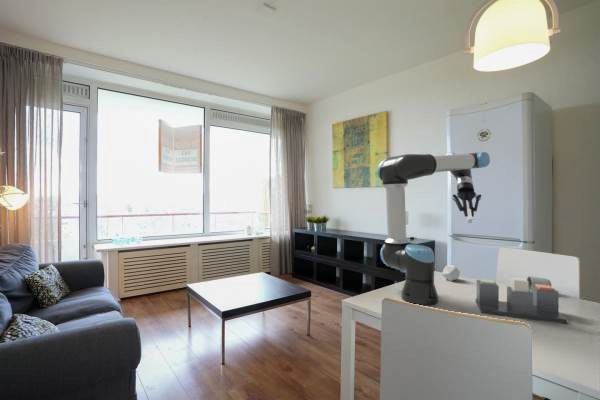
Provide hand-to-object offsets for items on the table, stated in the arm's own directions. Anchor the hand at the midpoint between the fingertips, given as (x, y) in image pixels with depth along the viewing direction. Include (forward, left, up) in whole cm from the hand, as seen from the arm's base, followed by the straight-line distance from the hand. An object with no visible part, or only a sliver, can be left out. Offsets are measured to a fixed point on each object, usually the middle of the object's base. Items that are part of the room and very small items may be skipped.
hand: (470, 220), depth 137 cm
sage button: (+4, -16, -32) cm, 36 cm away
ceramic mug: (+30, +15, -34) cm, 48 cm away
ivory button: (+13, -22, -29) cm, 39 cm away
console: (+13, -19, -34) cm, 41 cm away
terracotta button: (+23, -16, -32) cm, 43 cm away
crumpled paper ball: (-6, +22, -34) cm, 41 cm away
